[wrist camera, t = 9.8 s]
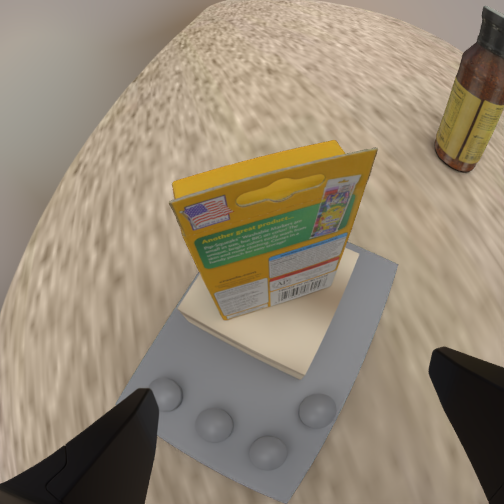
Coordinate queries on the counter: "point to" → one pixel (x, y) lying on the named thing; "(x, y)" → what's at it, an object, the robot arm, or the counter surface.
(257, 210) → the crayon box
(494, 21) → the sauce bottle
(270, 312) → the base brick
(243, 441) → the baseplate
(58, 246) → the counter surface
